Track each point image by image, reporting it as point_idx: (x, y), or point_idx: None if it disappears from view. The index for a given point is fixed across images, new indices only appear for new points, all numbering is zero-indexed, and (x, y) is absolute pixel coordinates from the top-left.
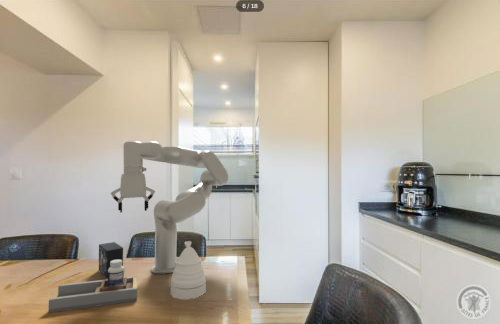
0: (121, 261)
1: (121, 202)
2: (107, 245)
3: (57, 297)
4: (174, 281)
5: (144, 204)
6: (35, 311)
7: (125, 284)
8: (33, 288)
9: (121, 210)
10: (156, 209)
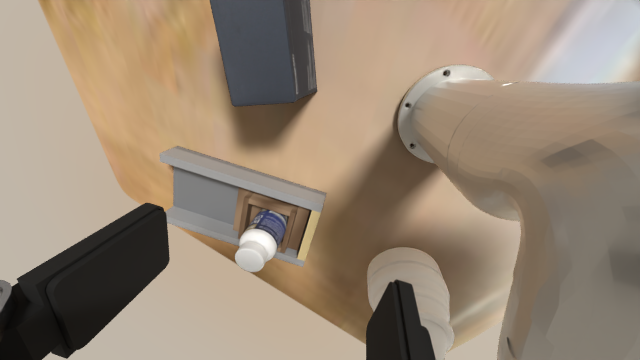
0: (260, 269)
1: (55, 335)
2: (235, 4)
3: (172, 219)
4: (369, 302)
5: (398, 342)
6: (156, 191)
7: (284, 249)
8: (110, 55)
9: (152, 276)
10: (568, 262)
